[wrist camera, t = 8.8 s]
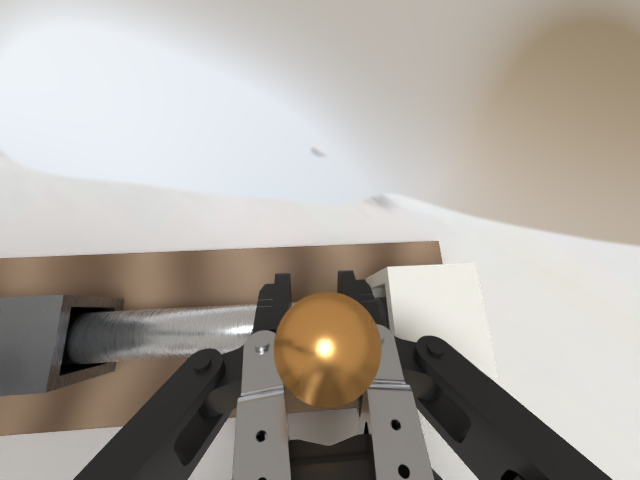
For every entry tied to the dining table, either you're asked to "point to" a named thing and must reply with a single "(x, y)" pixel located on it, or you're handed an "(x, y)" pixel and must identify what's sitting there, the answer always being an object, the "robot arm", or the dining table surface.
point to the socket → (438, 308)
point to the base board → (173, 292)
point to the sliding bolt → (234, 329)
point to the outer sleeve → (44, 342)
